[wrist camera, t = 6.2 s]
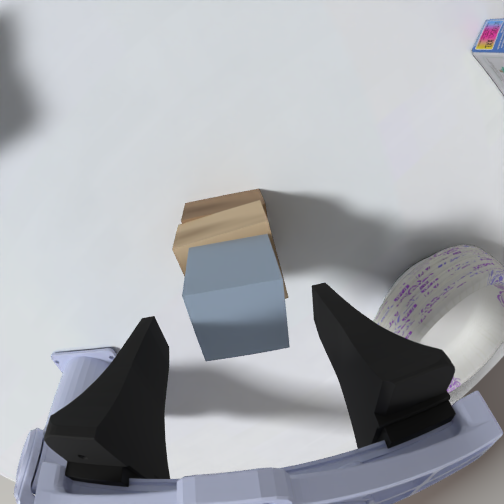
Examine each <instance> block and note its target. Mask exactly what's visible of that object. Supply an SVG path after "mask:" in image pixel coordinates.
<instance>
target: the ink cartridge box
mask: <svg viewBox="0 0 504 504" xmlns="http://www.w3.org/2000/svg"><path fill="white" fill-rule="evenodd" d="M472 53H473V55H474V57H475V58H476V59H477V60H478V61H479V63H480V64H481V65H482V66H483V68H484V69H485V70H486V71H487V73H488V74H489V75H490V77H491V78H492V79H493V81H494V82H495V83H496V85H497V86H498V88H499V89H500V90H501V92H502V93H503V95H504V19H490V20H486V22H485V24H484V26H483V28H482V30H481V32H480V34H479V36H478V39H477V41H476V43H475V45H474V47H473V49H472Z"/></svg>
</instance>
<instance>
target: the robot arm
mask: <svg viewBox="0 0 504 504" xmlns="http://www.w3.org/2000/svg"><path fill="white" fill-rule="evenodd" d="M312 297H313V312H314V321H315V324H316V328H317V331H318V334H319V337H320V340H321V342H322V344H323V346H324V348H325V351H326V353H327V355H328V357H329V359H330V362H331V364H332V366H333V368H334V370H335V373H336V375H337V377H338V380H339V382H340V386H341V389H342V392H343V395H344V398H345V402H346V405H347V409H348V412H349V415H350V419H351V423H352V427H353V431H354V434H355V439H356V443H357V447H358V449H356V450H353V451H349V452H346V453H342V454H339V455H335V456H332V457H328V458H324V459H320V460H316V461H312V462H308V463H303V464H299V465H294V466H289V467H284V468H258V469H251V470H244V471H235V472H226V473H216V474H203V475H192V476H185V477H183V478H181V479H170V475H169V469H168V462H167V453H166V442H165V421H164V410H165V399H166V390H167V381H168V373H169V346H168V344H167V342H166V340H165V338H164V336H163V334H162V331H161V329H160V327H159V325H158V323H157V321H156V319H155V317H154V316H153V317H147V318H142V319H141V321H140V322H139V324H138V325H137V327H136V328H135V330H134V331H133V333H132V334H131V336H130V337H129V338H128V340H127V341H126V343H125V344H124V346H123V347H122V349H121V350H120V351H119V353H118V354H116V353H115V351H114V350H113V349H111V348H104V349H95V350H84V351H73V352H61V353H52V355H51V358H52V360H53V361H54V363H55V364H56V365H57V366H58V368H59V369H60V370H61V372H62V373H63V374H62V377H61V380H60V383H59V385H58V388H57V391H56V394H55V397H54V400H53V403H52V406H51V409H50V413H49V416H48V419H47V422H46V426H45V428H44V430H41V429H39V428H36V429H34V430H31V431H30V432H29V434H28V436H27V439H26V441H25V444H24V447H23V450H22V454H21V457H20V461H19V465H18V469H17V475H16V484H15V489H14V496H15V497H16V502H17V504H393V503H396V502H398V501H400V500H402V499H404V498H407V497H409V496H411V495H413V494H415V493H417V492H419V491H421V490H423V489H425V488H427V487H429V486H431V485H433V484H435V483H437V482H439V481H440V480H442V479H444V478H446V477H448V476H450V475H451V474H453V473H455V472H457V471H458V470H460V469H462V468H464V467H465V466H467V465H469V464H470V463H472V462H474V461H475V460H477V459H478V458H480V457H481V456H482V455H483V454H484V453H485V452H486V451H487V450H488V449H489V448H490V447H491V446H492V445H493V444H494V443H495V442H496V441H497V440H498V439H499V438H500V437H501V436H502V434H503V431H502V430H501V428H500V426H499V424H498V423H497V421H496V419H495V417H494V416H493V414H492V412H491V411H490V409H489V407H488V406H487V404H486V402H485V401H484V399H483V398H482V396H481V394H480V393H479V391H475V392H473V393H471V394H469V395H467V396H465V397H463V398H462V399H460V400H458V401H456V402H455V403H454V404H453V405H452V406H451V404H450V402H449V399H450V395H449V393H448V392H447V389H448V387H449V385H450V383H451V381H452V379H453V376H454V373H455V366H454V365H453V363H452V362H451V360H450V359H449V357H448V356H447V355H446V354H445V352H444V351H443V350H442V349H438V348H434V347H430V346H427V345H423V344H420V343H417V342H414V341H411V340H409V339H406V338H404V337H402V336H399V335H397V334H395V333H393V332H391V331H389V330H387V329H385V328H383V327H382V326H380V325H378V324H376V323H375V322H373V321H372V320H370V319H369V318H367V317H366V316H364V315H363V314H362V313H360V312H359V311H358V310H356V309H355V308H354V307H353V306H351V305H350V304H349V303H348V302H346V301H345V300H344V299H343V298H342V297H341V296H339V295H338V294H337V293H336V292H335V291H334V290H333V289H332V288H331V287H330V286H328V285H327V284H326V283H321V284H317V285H313V286H312ZM112 356H113V357H112ZM32 493H33V494H35V496H34V495H33V494H32Z"/></svg>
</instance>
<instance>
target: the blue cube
mask: <svg viewBox="0 0 504 504" xmlns="http://www.w3.org/2000/svg"><path fill="white" fill-rule="evenodd" d="M182 297H183V299H184V302H185V305H186V308H187V311H188V314H189V317H190V320H191V323H192V325H193V328H194V331H195V334H196V336H197V339H198V342H199V345H200V347H201V350H202V353H203V355H204V358H205V360H206V361H211V360H218V359H225V358H232V357H238V356H244V355H250V354H256V353H262V352H267V351H273V350H278V349H283V348H288V347H289V337H288V326H287V316H286V306H285V296H284V287H283V278H282V275H281V272H280V269H279V266H278V263H277V260H276V257H275V254H274V251H273V248H272V246H271V243H270V240H269V237H268V234H263V235H258V236H252V237H246V238H241V239H235V240H230V241H224V242H218V243H213V244H207V245H202V246H196V247H191V248H189V251H188V257H187V264H186V272H185V279H184V287H183V294H182Z"/></svg>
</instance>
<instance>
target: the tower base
mask: <svg viewBox="0 0 504 504" xmlns="http://www.w3.org/2000/svg"><path fill="white" fill-rule="evenodd" d="M258 200H260V201H261V204H262V206H263V209H264V211H265V214H266V217H267V211H266V204H265V202H264V199H263V197H262V194H261V192H260V190H259V189H255V190H250V191H244V192H239V193H234V194H228V195H223V196H218V197H213V198H208V199H203V200H199V201H194V202H189V203H185V207H184V211H183V215H182V219H181V222H182V224H183V223H186V222H189V221H192V220H195V219H199V218H202V217H205V216H208V215H212V214H215V213H218V212H221V211H225V210H228V209H231V208H235V207H238V206H241V205H245V204H248V203H251V202H255V201H258ZM267 219H268V218H267Z"/></svg>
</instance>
